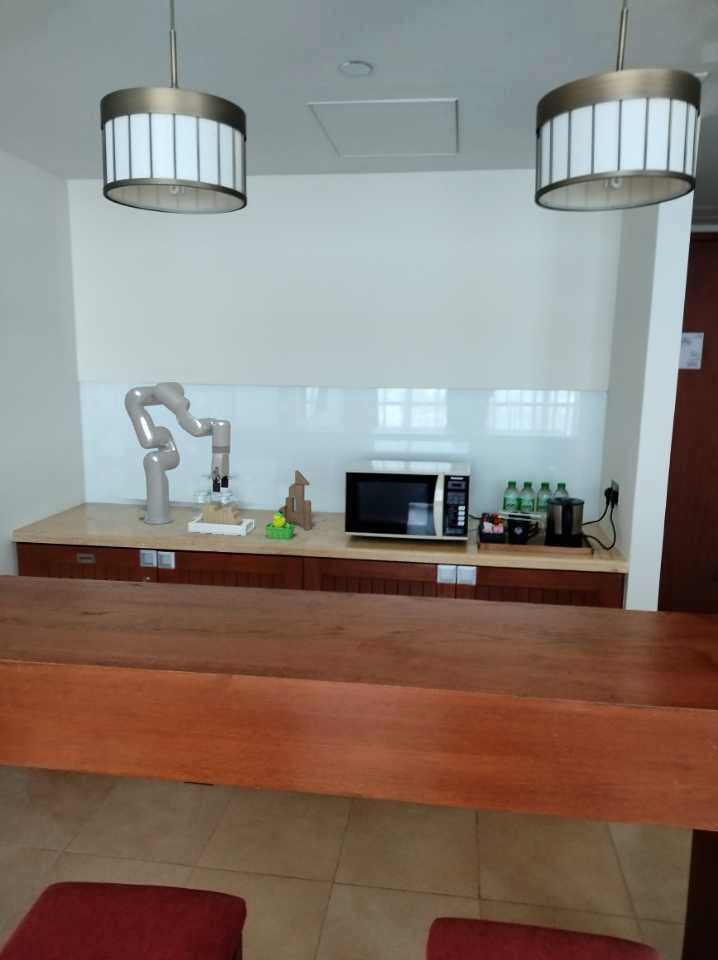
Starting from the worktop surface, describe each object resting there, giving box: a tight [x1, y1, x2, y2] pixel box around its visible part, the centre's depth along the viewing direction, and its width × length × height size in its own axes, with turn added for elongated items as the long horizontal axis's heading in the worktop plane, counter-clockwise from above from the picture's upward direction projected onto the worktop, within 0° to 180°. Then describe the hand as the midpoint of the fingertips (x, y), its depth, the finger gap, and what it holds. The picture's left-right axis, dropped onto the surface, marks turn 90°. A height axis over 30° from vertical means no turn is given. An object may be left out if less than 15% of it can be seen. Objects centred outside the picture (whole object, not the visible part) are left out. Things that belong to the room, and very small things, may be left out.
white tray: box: [187, 515, 256, 537], centre depth 291 cm, size 25×13×4 cm, turn 81°
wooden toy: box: [277, 469, 312, 531], centre depth 298 cm, size 16×7×25 cm, turn 72°
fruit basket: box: [264, 512, 296, 541], centre depth 281 cm, size 11×9×11 cm
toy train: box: [200, 502, 243, 525], centre depth 291 cm, size 6×17×10 cm, turn 72°
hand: (220, 489), depth 289 cm, fingers open, 9 cm apart
